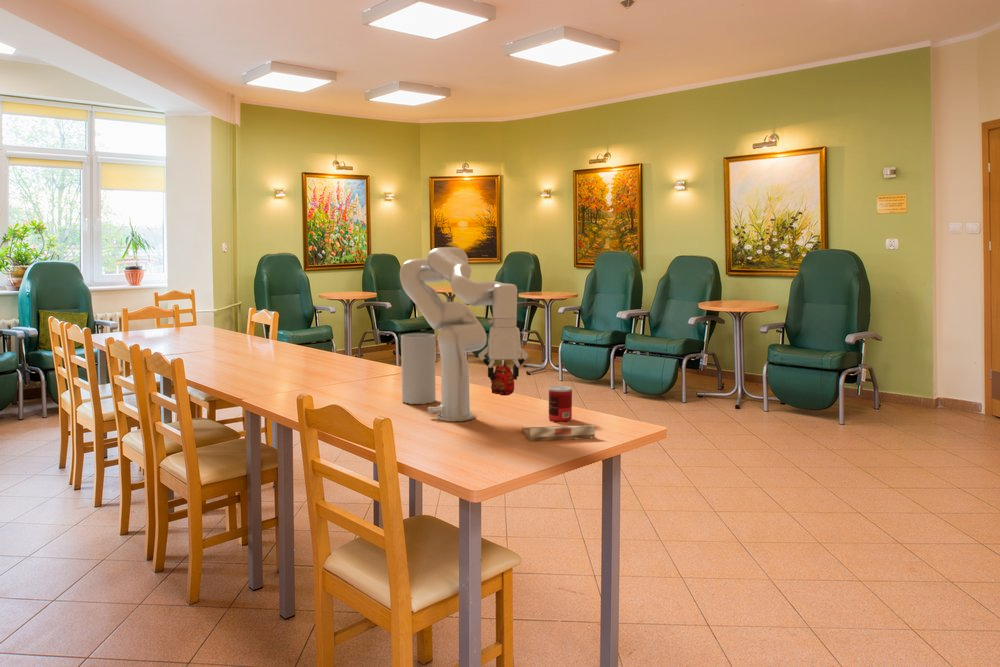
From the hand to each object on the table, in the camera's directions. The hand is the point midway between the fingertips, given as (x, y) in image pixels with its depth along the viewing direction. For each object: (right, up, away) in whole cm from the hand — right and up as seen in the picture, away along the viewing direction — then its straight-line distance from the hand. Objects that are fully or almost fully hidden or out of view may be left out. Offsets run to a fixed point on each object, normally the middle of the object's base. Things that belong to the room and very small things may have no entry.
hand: (503, 378), depth 236 cm
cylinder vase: (-31, -11, +45) cm, 56 cm away
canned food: (+19, -15, +15) cm, 29 cm away
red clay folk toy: (0, -5, +1) cm, 5 cm away
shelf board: (+17, -17, -4) cm, 24 cm away
